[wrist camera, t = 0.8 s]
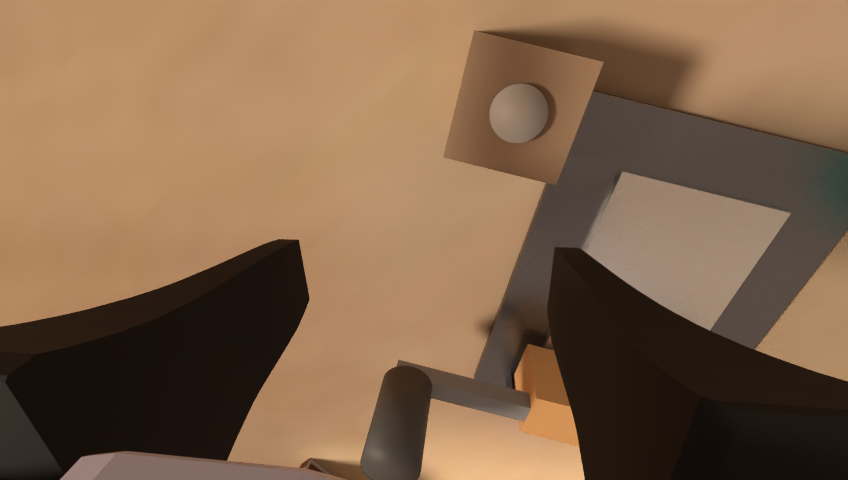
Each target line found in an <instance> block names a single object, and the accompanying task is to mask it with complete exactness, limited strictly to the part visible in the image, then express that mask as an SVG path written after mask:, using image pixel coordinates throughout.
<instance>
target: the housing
mask: <svg viewBox="0 0 848 480" xmlns="http://www.w3.org/2000/svg"><path fill="white" fill-rule="evenodd" d="M603 63H604V62H602V61H598V60H594V59H589V58H585V57H581V56H577V55H573V54H569V53H565V52H561V51H557V50H553V49H548V48H544V47H540V46H536V45H532V44H528V43H524V42H520V41H516V40H512V39H507V38H503V37H499V36H495V35H491V34H487V33H483V32H479V31H475V30H474V34H473V38H472V42H471V46H470V50H469V54H468V58H467V62H466V66H465V71H464V75H463V79H462V83H461V87H460V91H459V95H458V99H457V103H456V108H455V112H454V116H453V120H452V124H451V128H450V132H449V136H448V140H447V145H446V149H445V153H444V158H448V159H452V160H456V161H461V162H465V163H469V164H473V165H477V166H481V167H485V168H489V169H493V170H497V171H501V172H505V173H509V174H513V175H517V176H521V177H525V178H529V179H533V180H537V181H541V182H545V183H549V184H553V185H556V184H557V182H558V179H559V177H560V174H561V171H562V169H563V166H564V164H565V161H566V158H567V156H568V153H569V151H570V148H571V146H572V143H573V140H574V138H575V135H576V133H577V130H578V128H579V125H580V122H581V120H582V117H583V115H584V112H585V109H586V107H587V104H588V102H589V99H590V97H591V94H592V91H593V89H594V86H595V84H596V81H597V78H598V76H599V73H600V71H601V68H602V66H603Z"/></svg>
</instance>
